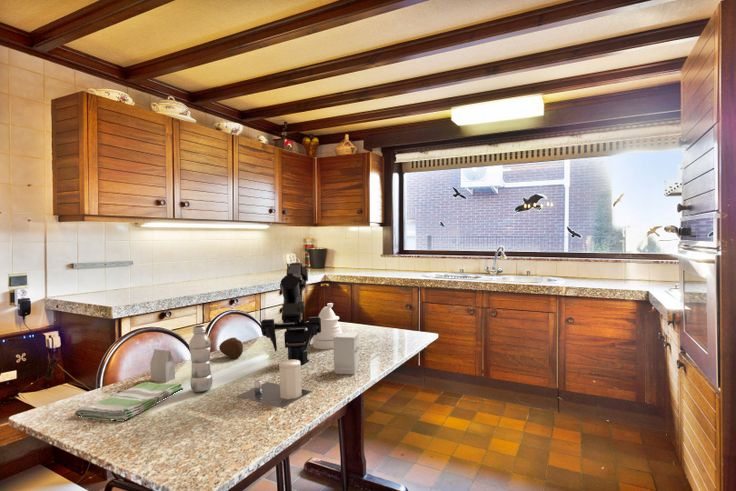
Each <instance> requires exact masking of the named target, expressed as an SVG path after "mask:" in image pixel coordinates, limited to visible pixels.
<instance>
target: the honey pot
mask: <svg viewBox="0 0 736 491" xmlns="http://www.w3.org/2000/svg"><path fill="white" fill-rule="evenodd" d="M326 305H327V306H323V308H322V309H321V310H320V312H319V313H318V316H317V317H320V318H321V332H320V333H317V335H314V336H313V338H312V347H313V348H315V349H318V350H319V349H320V350H332V349H333V350H334V337H335V336H336V335H337V334H338V333H343V330H342V328H341V326H340V323H339V321H338V320H340V316H338V315H336V313H335V312H334V310H333V309H332V308H333V306H334V303H333V302H329V303H327V304H326Z"/></svg>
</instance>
